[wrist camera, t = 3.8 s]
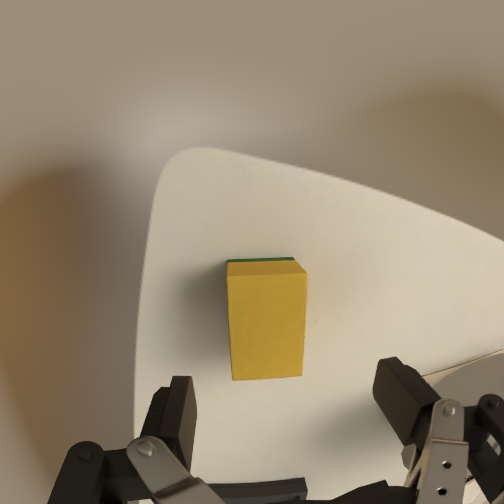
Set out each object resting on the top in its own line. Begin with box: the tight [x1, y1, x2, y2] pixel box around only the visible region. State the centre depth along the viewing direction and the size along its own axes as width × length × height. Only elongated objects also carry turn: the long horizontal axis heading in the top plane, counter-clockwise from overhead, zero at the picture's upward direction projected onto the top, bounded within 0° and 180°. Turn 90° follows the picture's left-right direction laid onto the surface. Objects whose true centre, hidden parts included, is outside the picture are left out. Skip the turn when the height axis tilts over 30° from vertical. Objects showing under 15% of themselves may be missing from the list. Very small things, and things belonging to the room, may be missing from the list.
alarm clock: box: [401, 349, 504, 477], centre depth 19 cm, size 23×6×13 cm, turn 90°
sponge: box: [226, 257, 307, 381], centre depth 19 cm, size 7×4×4 cm, turn 1°
